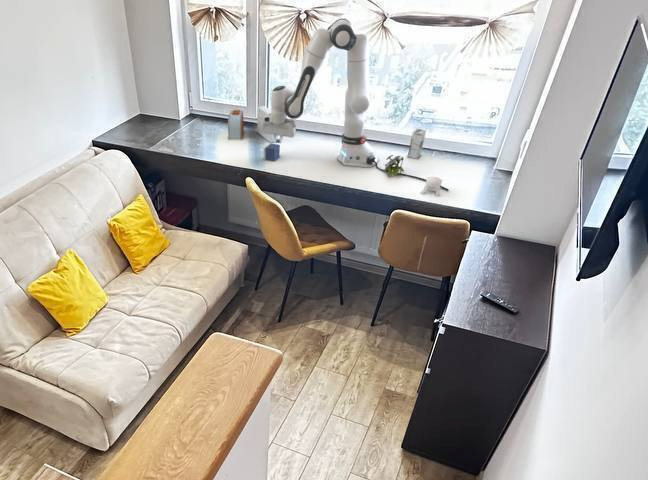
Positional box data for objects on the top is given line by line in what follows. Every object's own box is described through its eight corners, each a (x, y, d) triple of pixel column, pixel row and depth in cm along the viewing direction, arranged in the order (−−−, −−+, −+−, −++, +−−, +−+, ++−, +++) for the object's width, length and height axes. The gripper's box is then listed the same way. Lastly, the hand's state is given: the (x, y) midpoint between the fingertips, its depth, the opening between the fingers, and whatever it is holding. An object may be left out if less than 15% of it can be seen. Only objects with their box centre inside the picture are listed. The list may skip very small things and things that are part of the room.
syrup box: (411, 153, 314) (416, 128, 304) (421, 155, 311) (426, 130, 301) (407, 157, 311) (412, 131, 301) (417, 159, 308) (422, 133, 298)
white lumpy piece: (422, 192, 285) (420, 193, 272) (426, 175, 281) (424, 176, 269) (439, 194, 282) (437, 196, 269) (444, 177, 279) (442, 178, 266)
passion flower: (386, 180, 302) (389, 158, 301) (405, 180, 297) (409, 157, 295) (380, 175, 293) (383, 152, 291) (400, 175, 287) (404, 152, 286)
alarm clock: (231, 130, 354) (230, 109, 345) (244, 130, 353) (243, 109, 344) (228, 139, 344) (227, 117, 334) (241, 139, 342) (240, 117, 333)
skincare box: (278, 141, 337) (278, 115, 326) (270, 143, 336) (270, 116, 325) (264, 130, 352) (264, 105, 341) (256, 132, 350) (256, 106, 339)
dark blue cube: (279, 144, 315) (269, 143, 318) (274, 149, 311) (263, 147, 314) (279, 156, 320) (269, 154, 323) (274, 161, 316) (263, 159, 318)
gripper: (298, 118, 299) (297, 143, 309) (265, 113, 308) (265, 138, 317) (293, 122, 296) (292, 147, 305) (260, 117, 304) (260, 142, 313)
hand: (278, 142), depth 311 cm, fingers closed
